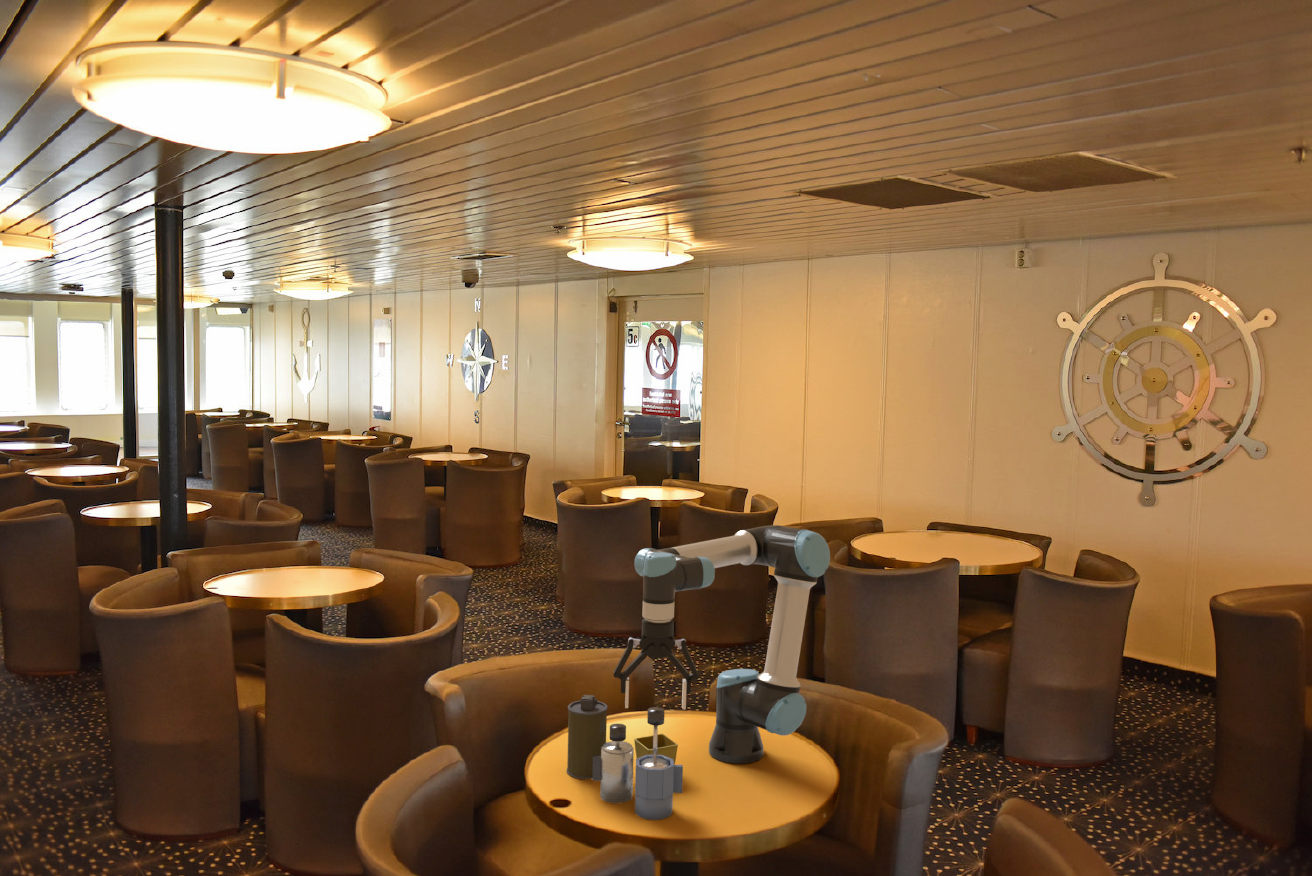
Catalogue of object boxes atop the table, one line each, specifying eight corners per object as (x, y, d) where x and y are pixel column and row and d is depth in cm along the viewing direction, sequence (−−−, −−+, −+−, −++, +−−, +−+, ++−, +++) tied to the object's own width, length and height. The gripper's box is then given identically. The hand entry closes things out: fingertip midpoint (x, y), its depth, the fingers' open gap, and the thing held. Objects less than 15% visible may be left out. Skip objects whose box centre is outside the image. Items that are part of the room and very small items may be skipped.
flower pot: (647, 784, 241) (648, 749, 240) (632, 771, 248) (633, 738, 248) (677, 778, 245) (678, 744, 244) (662, 765, 252) (663, 733, 252)
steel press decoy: (632, 789, 237) (634, 720, 236) (632, 803, 229) (634, 732, 228) (592, 788, 237) (594, 720, 236) (591, 803, 229) (593, 732, 228)
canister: (600, 781, 241) (602, 705, 240) (561, 777, 244) (562, 701, 242) (610, 764, 252) (612, 691, 251) (573, 760, 254) (574, 688, 253)
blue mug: (680, 803, 230) (681, 755, 229) (682, 820, 221) (683, 770, 220) (634, 802, 230) (635, 754, 229) (634, 819, 221) (636, 769, 220)
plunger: (667, 761, 228) (669, 705, 227) (669, 772, 222) (670, 715, 221) (640, 761, 228) (642, 705, 227) (641, 772, 221) (642, 714, 221)
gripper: (709, 616, 227) (706, 702, 228) (605, 613, 226) (603, 700, 227) (712, 623, 219) (708, 713, 220) (604, 621, 218) (602, 711, 220)
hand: (655, 707), depth 224 cm, fingers open, 13 cm apart
